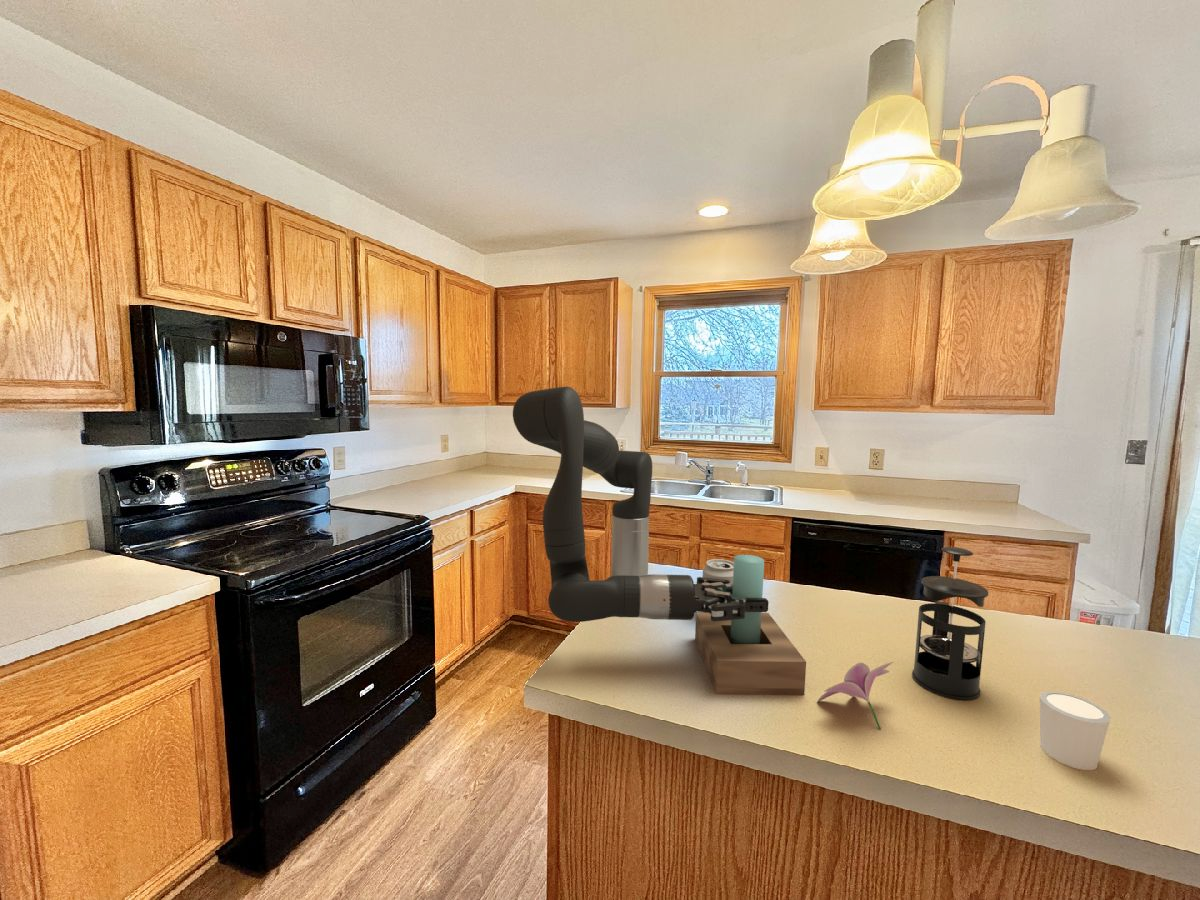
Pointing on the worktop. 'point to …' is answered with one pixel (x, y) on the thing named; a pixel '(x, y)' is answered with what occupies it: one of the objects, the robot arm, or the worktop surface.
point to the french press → (950, 637)
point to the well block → (750, 659)
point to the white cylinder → (1072, 729)
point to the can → (719, 570)
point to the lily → (858, 683)
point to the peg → (747, 586)
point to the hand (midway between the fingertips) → (761, 598)
